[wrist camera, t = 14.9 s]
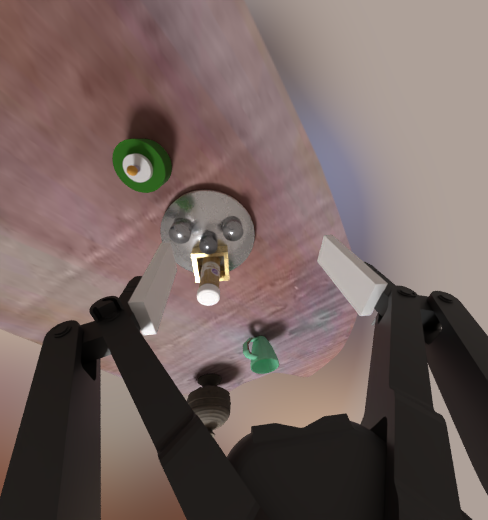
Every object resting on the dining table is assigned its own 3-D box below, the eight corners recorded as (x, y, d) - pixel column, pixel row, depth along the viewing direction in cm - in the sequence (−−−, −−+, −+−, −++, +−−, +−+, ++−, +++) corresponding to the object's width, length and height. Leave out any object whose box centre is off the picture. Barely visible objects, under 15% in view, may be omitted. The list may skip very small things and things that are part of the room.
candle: (144, 127, 34) (119, 124, 25) (180, 166, 38) (169, 175, 29) (117, 160, 36) (86, 168, 28) (154, 194, 40) (136, 209, 32)
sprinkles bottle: (222, 257, 48) (223, 293, 37) (216, 270, 50) (215, 308, 39) (205, 251, 47) (200, 287, 36) (199, 265, 49) (193, 303, 38)
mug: (277, 338, 73) (285, 364, 65) (259, 350, 76) (263, 376, 68) (251, 322, 66) (256, 349, 58) (232, 336, 69) (234, 364, 61)
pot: (178, 383, 82) (172, 444, 65) (208, 363, 79) (211, 421, 62) (206, 393, 91) (207, 449, 75) (235, 376, 88) (243, 430, 71)
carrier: (172, 274, 51) (168, 287, 47) (151, 190, 39) (142, 197, 35) (252, 269, 53) (255, 281, 49) (255, 188, 41) (259, 194, 37)
